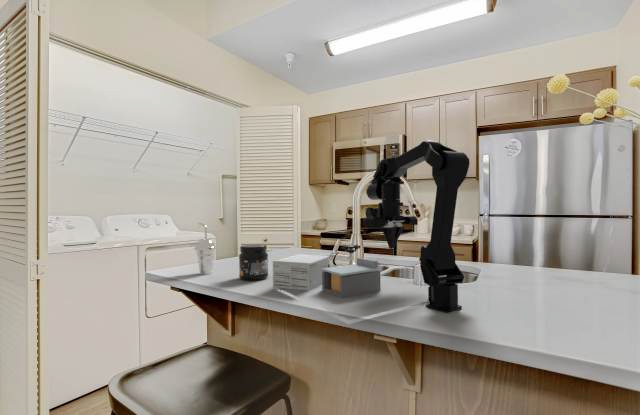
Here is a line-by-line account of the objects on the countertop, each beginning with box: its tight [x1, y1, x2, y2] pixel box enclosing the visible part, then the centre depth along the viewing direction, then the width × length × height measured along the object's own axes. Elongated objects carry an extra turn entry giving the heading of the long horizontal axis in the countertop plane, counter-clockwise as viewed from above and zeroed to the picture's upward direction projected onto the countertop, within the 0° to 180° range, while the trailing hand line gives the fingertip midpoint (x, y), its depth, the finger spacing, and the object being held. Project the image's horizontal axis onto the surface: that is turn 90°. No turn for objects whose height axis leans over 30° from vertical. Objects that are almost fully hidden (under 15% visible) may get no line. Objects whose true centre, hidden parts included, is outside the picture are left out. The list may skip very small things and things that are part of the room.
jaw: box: [331, 273, 347, 293], centre depth 99 cm, size 4×4×6 cm
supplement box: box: [272, 253, 331, 292], centre depth 111 cm, size 17×13×9 cm
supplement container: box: [238, 243, 269, 282], centre depth 123 cm, size 10×10×12 cm
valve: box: [341, 244, 361, 265], centre depth 120 cm, size 7×7×12 cm
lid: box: [322, 257, 381, 276], centre depth 101 cm, size 10×14×3 cm
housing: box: [321, 270, 382, 299], centre depth 101 cm, size 10×14×6 cm
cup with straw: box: [193, 222, 217, 275], centre depth 133 cm, size 8×9×20 cm
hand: (391, 248), depth 106 cm, fingers closed
